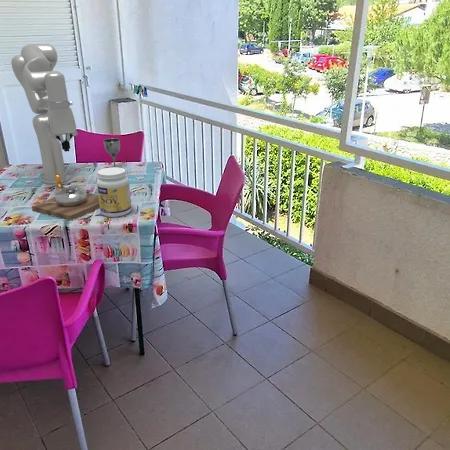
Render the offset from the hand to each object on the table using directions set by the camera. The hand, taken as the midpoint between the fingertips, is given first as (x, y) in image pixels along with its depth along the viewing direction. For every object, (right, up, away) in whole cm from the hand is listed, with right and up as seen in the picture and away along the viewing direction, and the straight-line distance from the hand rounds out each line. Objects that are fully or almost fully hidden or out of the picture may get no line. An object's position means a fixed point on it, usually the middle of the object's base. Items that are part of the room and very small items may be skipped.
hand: (66, 150), depth 180 cm
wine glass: (+8, -1, +47) cm, 48 cm away
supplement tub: (+23, -26, -8) cm, 35 cm away
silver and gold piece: (+1, -20, 0) cm, 20 cm away
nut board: (+3, -23, -2) cm, 24 cm away
